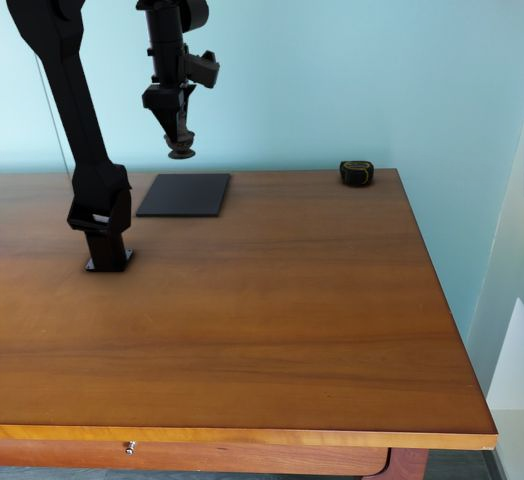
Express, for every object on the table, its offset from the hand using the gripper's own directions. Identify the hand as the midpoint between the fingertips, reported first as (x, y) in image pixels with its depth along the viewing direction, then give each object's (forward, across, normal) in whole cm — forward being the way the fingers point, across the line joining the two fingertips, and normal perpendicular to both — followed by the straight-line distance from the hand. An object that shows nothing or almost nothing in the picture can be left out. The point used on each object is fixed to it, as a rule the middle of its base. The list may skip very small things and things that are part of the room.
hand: (179, 135), depth 98 cm
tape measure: (+14, +11, -34) cm, 38 cm away
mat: (+13, +4, +1) cm, 14 cm away
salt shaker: (+4, 0, 0) cm, 4 cm away
